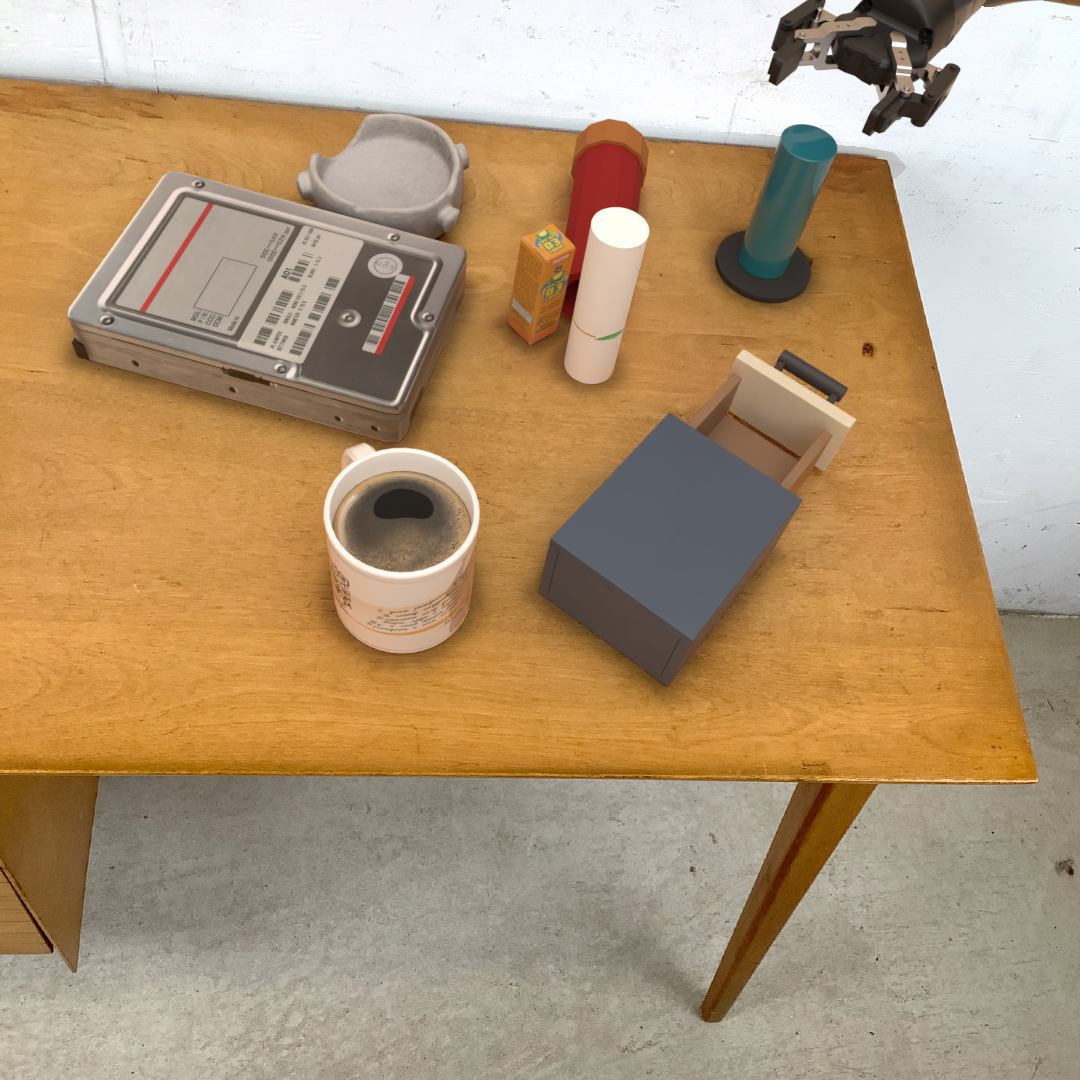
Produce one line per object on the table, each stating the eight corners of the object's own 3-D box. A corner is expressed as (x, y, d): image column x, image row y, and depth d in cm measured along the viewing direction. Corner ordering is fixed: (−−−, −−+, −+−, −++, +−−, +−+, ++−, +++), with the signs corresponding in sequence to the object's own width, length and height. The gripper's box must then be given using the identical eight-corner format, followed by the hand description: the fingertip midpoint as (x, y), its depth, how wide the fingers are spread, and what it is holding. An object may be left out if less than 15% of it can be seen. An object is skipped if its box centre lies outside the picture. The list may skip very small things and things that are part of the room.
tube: (558, 376, 85) (585, 239, 72) (569, 340, 87) (597, 201, 75) (608, 389, 85) (643, 254, 72) (617, 353, 87) (654, 215, 75)
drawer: (749, 367, 87) (770, 319, 82) (854, 432, 84) (881, 387, 79) (633, 494, 79) (648, 450, 74) (745, 571, 76) (768, 531, 71)
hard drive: (177, 209, 90) (167, 168, 87) (467, 287, 89) (470, 249, 86) (77, 356, 81) (61, 317, 77) (401, 446, 80) (401, 410, 76)
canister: (797, 260, 95) (848, 143, 84) (771, 287, 93) (820, 169, 82) (754, 235, 96) (799, 115, 85) (727, 260, 94) (770, 141, 83)
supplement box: (531, 349, 86) (544, 261, 78) (506, 324, 88) (516, 234, 79) (560, 332, 88) (577, 244, 79) (535, 308, 89) (549, 218, 80)
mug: (308, 640, 70) (293, 559, 61) (349, 499, 77) (341, 406, 67) (458, 665, 70) (465, 589, 61) (486, 523, 77) (496, 434, 67)
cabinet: (648, 471, 81) (669, 411, 75) (770, 553, 78) (803, 499, 72) (537, 592, 74) (550, 538, 68) (667, 687, 71) (692, 640, 65)
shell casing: (640, 184, 99) (655, 122, 93) (624, 331, 89) (640, 271, 83) (571, 172, 99) (581, 109, 93) (547, 318, 88) (556, 257, 83)
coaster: (825, 267, 96) (828, 262, 95) (778, 318, 92) (780, 313, 91) (746, 220, 98) (748, 215, 98) (697, 268, 94) (698, 263, 93)
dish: (287, 230, 91) (281, 185, 86) (348, 139, 98) (345, 93, 94) (440, 277, 90) (442, 233, 85) (490, 181, 97) (493, 136, 93)
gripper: (856, -65, 84) (758, 11, 77) (1010, 9, 81) (924, 97, 73) (825, 21, 91) (731, 100, 83) (967, 94, 87) (883, 182, 79)
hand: (821, 98), depth 78 cm, fingers open, 8 cm apart
